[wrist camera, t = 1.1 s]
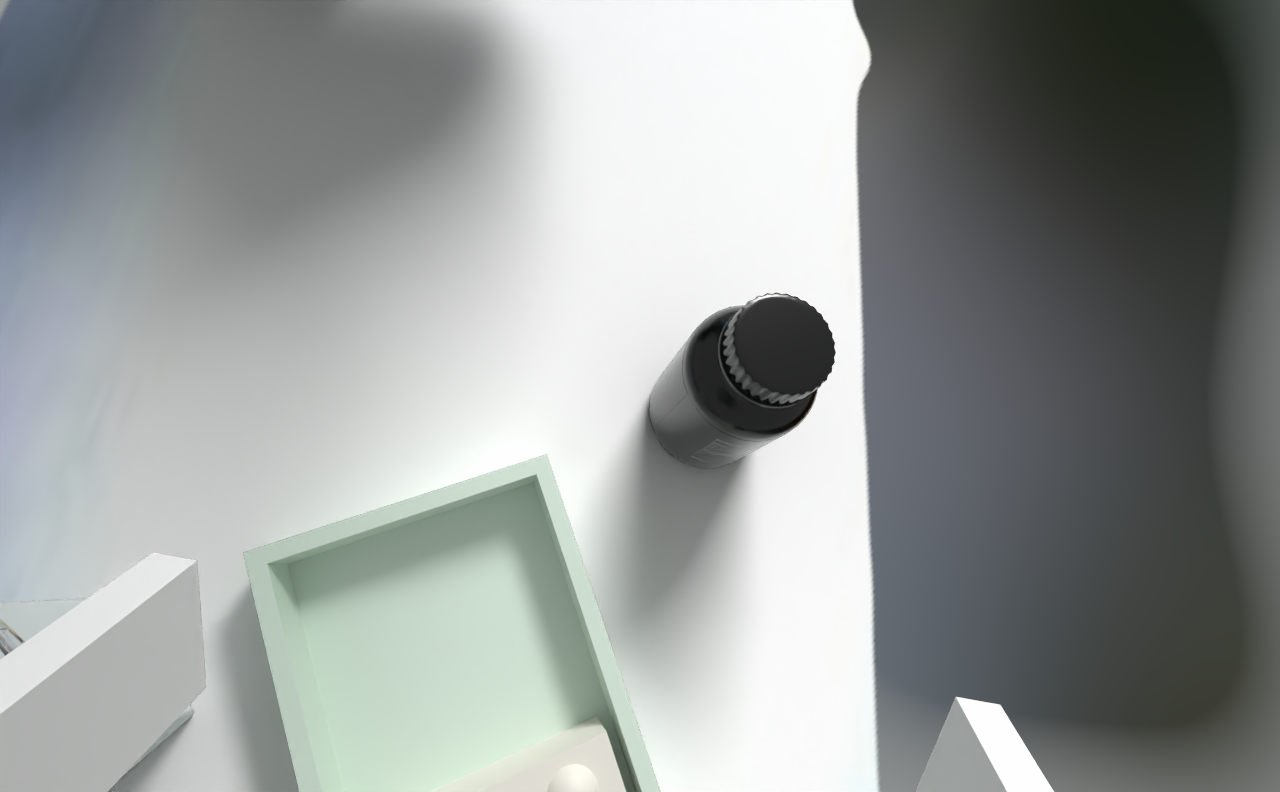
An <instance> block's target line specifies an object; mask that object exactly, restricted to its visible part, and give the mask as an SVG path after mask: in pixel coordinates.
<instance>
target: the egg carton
mask: <svg viewBox="0 0 1280 792" xmlns="http://www.w3.org/2000/svg"><path fill="white" fill-rule="evenodd" d="M431 792H626V789H625V786H624V783H623V780H622V777H621V774H620V771H619V768H618V765H617V762H616V759H615V756H614V753H613V750H612V746H611V743H610V740H609V737H608V734H607V731H606V730H605V729H604V727H603V726H602V724H601V723H600V721H599V720H598V718H597V717H596V716H594V717H592V718H590V719H588V720H586V721H583V722H581V723H579V724H577V725H575V726H573V727H570V728H568V729H566V730H564V731H562V732H559V733H557V734H555V735H553V736H551V737H549V738H546V739H544V740H542V741H540V742H538V743H536V744H533V745H531V746H529V747H527V748H525V749H523V750H520V751H518V752H516V753H514V754H512V755H509V756H507V757H505V758H503V759H501V760H499V761H496V762H494V763H492V764H490V765H488V766H486V767H483V768H481V769H479V770H477V771H475V772H472V773H470V774H468V775H466V776H464V777H462V778H459V779H457V780H455V781H453V782H451V783H449V784H446V785H444V786H442V787H440V788H438V789H436V790H433V791H431Z"/></svg>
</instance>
